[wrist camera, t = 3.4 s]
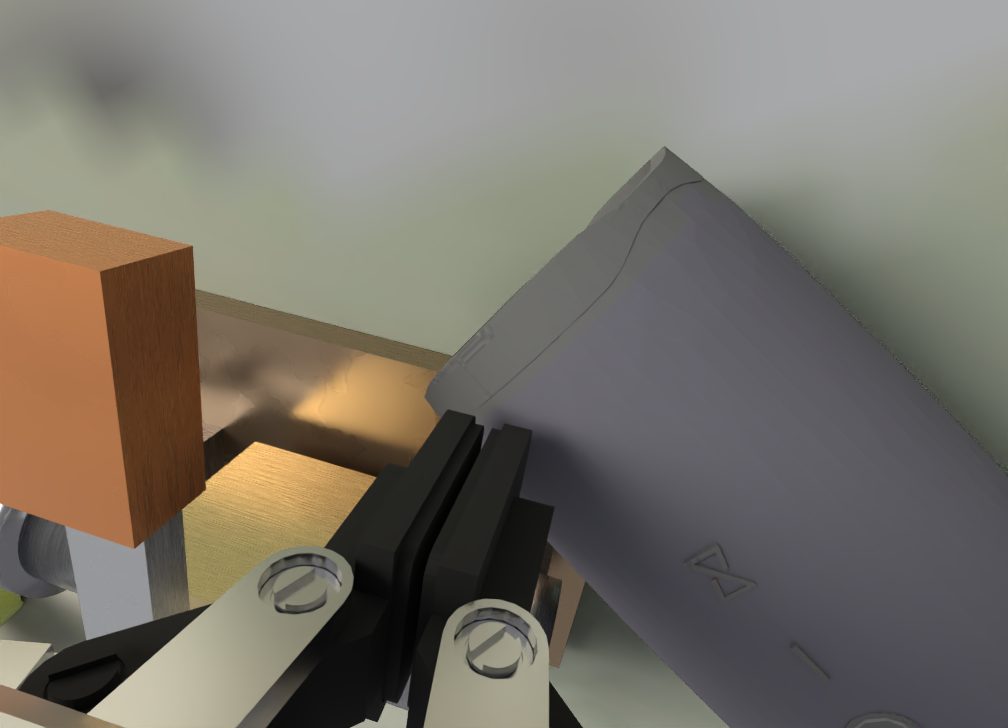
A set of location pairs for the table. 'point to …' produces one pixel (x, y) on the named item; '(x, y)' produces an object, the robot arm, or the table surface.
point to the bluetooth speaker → (748, 471)
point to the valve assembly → (285, 455)
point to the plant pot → (8, 605)
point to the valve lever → (102, 406)
